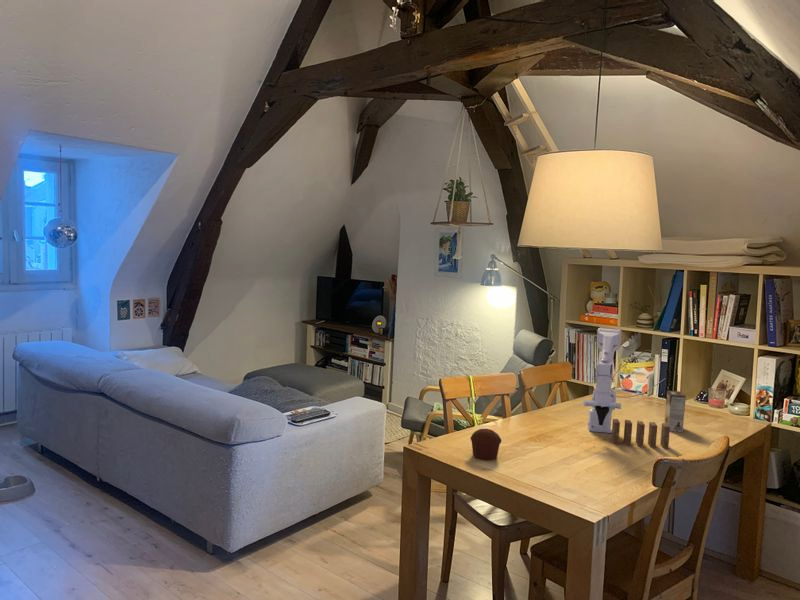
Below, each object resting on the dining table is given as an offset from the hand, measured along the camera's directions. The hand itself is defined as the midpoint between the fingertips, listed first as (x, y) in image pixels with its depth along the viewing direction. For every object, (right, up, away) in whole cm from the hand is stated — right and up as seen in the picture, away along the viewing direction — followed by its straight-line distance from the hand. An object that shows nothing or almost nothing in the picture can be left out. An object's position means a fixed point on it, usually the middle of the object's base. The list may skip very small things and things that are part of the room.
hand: (600, 424), depth 259 cm
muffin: (-50, -8, -23) cm, 56 cm away
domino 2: (+10, -7, -1) cm, 13 cm away
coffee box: (+39, -6, +22) cm, 45 cm away
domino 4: (+20, -8, -3) cm, 21 cm away
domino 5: (+24, -8, -4) cm, 26 cm away
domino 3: (+15, -8, -2) cm, 17 cm away
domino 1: (+6, -7, 0) cm, 9 cm away
